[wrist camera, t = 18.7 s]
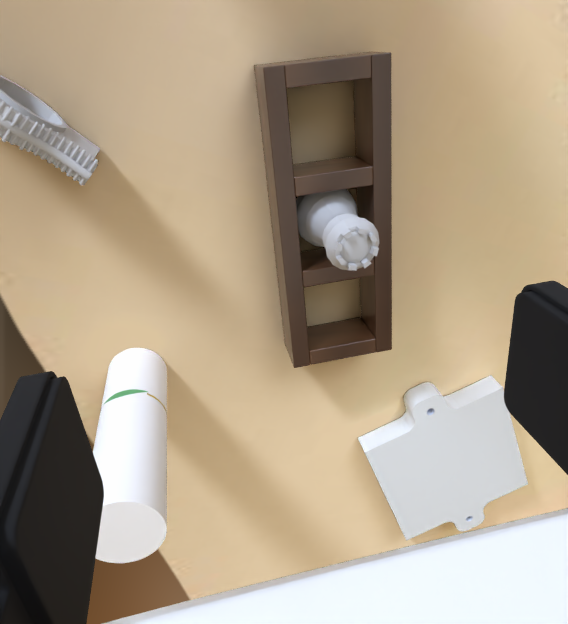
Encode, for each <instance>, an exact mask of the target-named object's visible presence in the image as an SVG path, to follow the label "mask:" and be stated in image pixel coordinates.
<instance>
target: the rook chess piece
mask: <svg viewBox="0 0 568 624" xmlns="http://www.w3.org/2000/svg"><path fill="white" fill-rule="evenodd" d="M296 207H297V219H298V230H299V234H300V236H301V237H303V238H304V240H306V241H307V242H309V243H311V244H313V245H314V246H319V247H325V249H326V254H327V257H328V259H329V260H330V261H331V263H332V264H333V265H334V266H336V267H338V268H339V269H342V270H355V271H357V269H359V268H362V267H364V268H366V267H367V266H369V265H370V264H372V263H371V262H370V261H371V260H372V258H373V257H374V256H377V254H378V250H379V248H378V246H379V235H378V231H377V230H376V228H375V226H374V225H373V223H371V222H369V221H368V220H366V219H365V218H359V217H358V213H357V206H356V202H355V200H354V199H353V197H352V196H351V194H350V193H349V192H348V190H347V189H343V190H336V191H330V192H323V193H316V194H309V195H303V196H298V198H297V199H296Z"/></svg>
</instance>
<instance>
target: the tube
mask: <svg viewBox="0 0 568 624" xmlns="http://www.w3.org/2000/svg"><path fill="white" fill-rule="evenodd" d="M93 455H94V458H95V461H96V464H97V467H98V469H99V472H100V475H101V478H102V482H103V488H104V500H103V508H102V515H101V522H100V529H99V536H98V543H97V550H96V559H98V560H101V561H104V562H110V563H128V562H132V561H137V560H140V559H142V558H145V557H147V556H148V555H150V554H152V553H153V552H154V551H156V550H157V549H158V548H159V547H160V546H161V544H162V543H163V541H164V539H165V536H166V533H167V367H166V364H165V362H164V360H163V359H162V358H161V357H160V356H159V355H158V354H157V353H155V352H153V351H151V350H148V349H144V348H131V349H127V350H125V351H122V352H121V353H119V354H117V355H116V356H115V357H114V358H113V360H112V361H111V363H110V365H109V369H108V374H107V380H106V385H105V390H104V396H103V401H102V406H101V412H100V417H99V422H98V428H97V433H96V439H95V444H94V450H93Z"/></svg>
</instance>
